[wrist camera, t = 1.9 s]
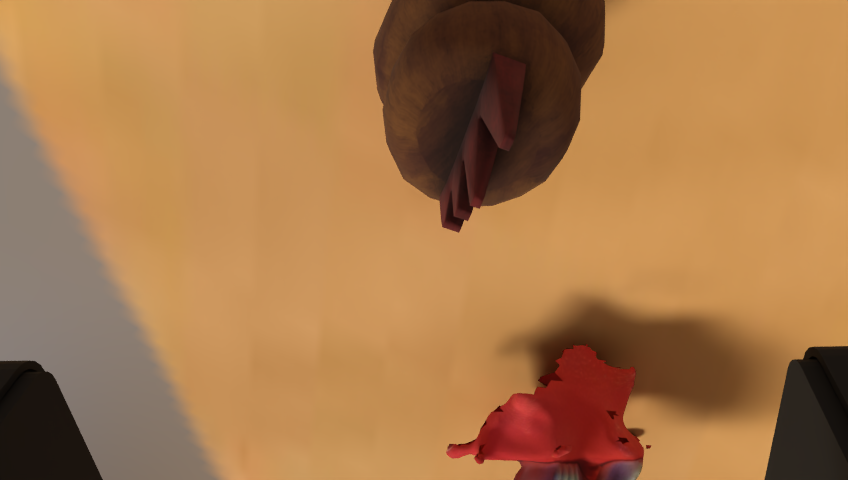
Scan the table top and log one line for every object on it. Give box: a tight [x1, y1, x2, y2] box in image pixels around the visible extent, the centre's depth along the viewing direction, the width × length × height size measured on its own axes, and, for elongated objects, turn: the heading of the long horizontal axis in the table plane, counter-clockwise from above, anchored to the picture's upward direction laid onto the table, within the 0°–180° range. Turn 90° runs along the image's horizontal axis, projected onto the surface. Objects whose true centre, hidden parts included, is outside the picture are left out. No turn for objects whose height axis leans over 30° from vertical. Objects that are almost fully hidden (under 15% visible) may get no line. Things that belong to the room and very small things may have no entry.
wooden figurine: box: [373, 0, 605, 232], centre depth 20 cm, size 7×6×15 cm
